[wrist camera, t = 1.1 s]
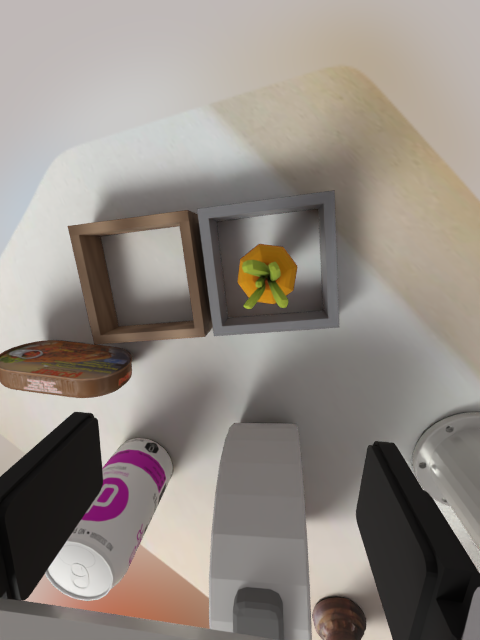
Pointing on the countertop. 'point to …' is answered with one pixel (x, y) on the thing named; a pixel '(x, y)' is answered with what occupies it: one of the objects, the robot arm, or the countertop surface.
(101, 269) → the frame
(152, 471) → the supplement can
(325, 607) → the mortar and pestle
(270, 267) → the carrot
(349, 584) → the countertop surface
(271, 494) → the alarm clock
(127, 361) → the tin
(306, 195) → the charcoal bin
